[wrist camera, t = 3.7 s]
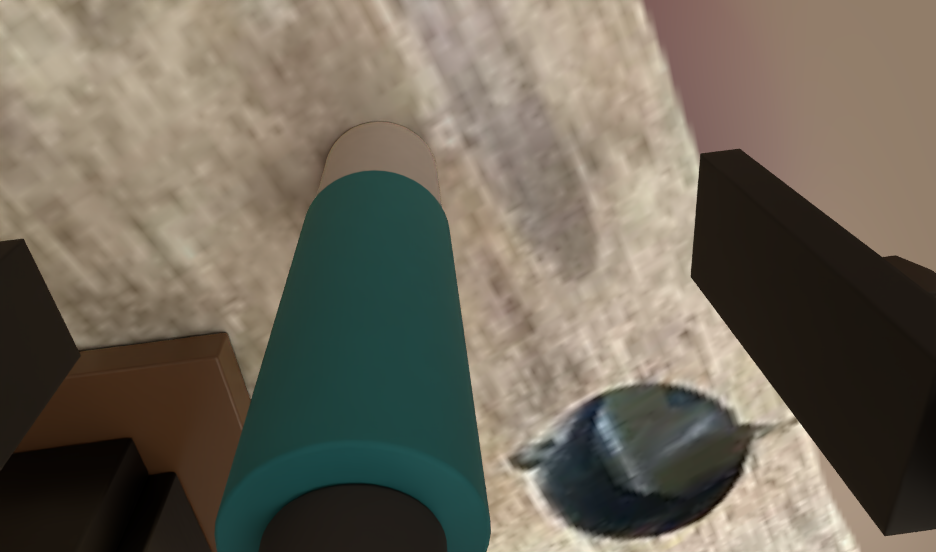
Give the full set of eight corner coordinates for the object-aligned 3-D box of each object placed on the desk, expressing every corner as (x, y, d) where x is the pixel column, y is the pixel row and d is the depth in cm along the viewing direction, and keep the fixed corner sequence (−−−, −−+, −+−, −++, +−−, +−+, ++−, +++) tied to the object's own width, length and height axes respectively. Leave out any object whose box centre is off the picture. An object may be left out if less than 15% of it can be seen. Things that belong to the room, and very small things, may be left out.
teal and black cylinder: (309, 124, 16) (93, 672, 5) (433, 109, 16) (506, 613, 5) (334, 235, 18) (214, 849, 6) (447, 221, 18) (527, 803, 6)
